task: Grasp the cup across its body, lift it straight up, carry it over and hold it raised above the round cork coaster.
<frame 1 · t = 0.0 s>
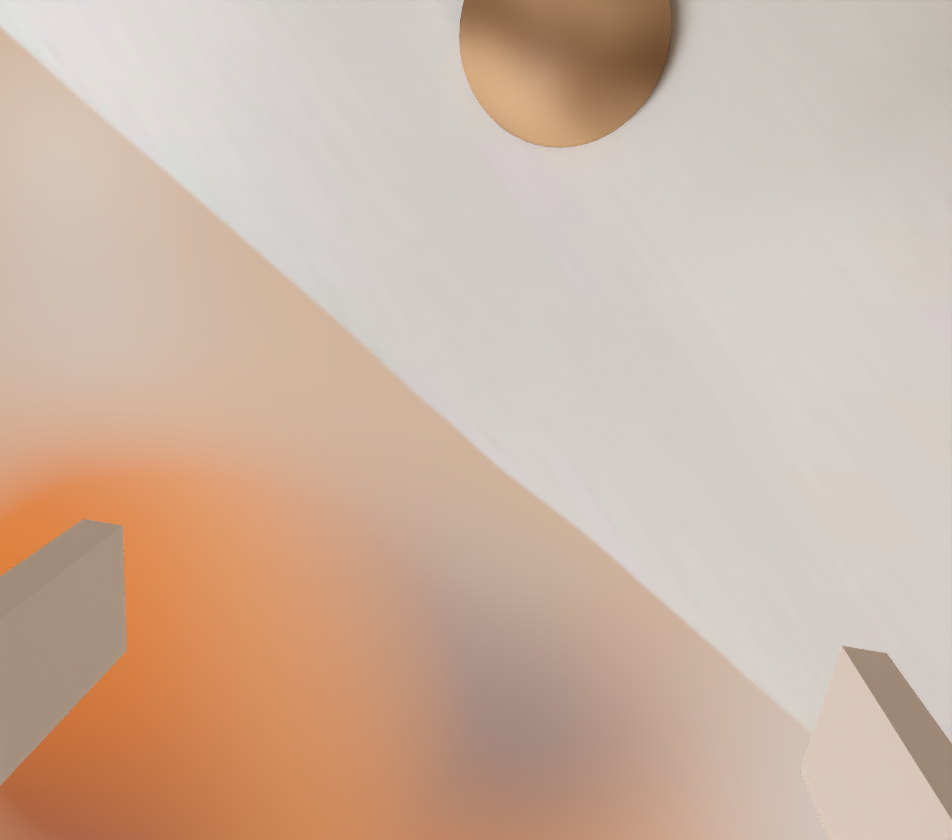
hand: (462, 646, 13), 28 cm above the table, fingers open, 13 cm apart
coaster: (563, 37, 35), on the table
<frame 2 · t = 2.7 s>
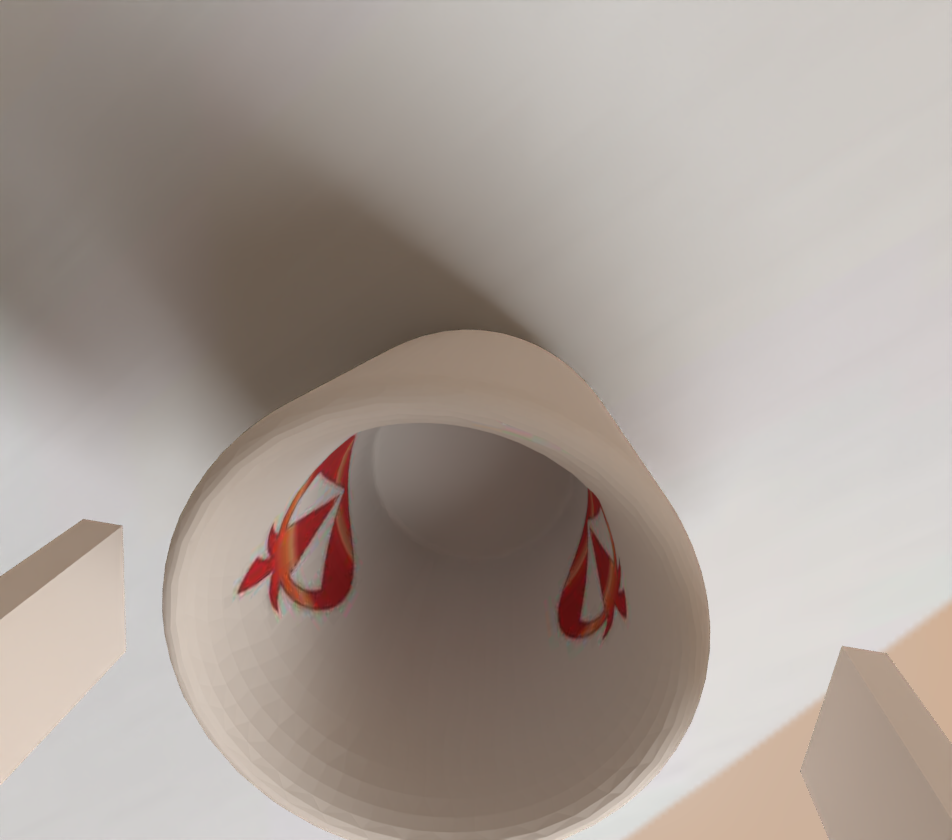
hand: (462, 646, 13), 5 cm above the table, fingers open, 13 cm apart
cup: (472, 501, 18), on the table
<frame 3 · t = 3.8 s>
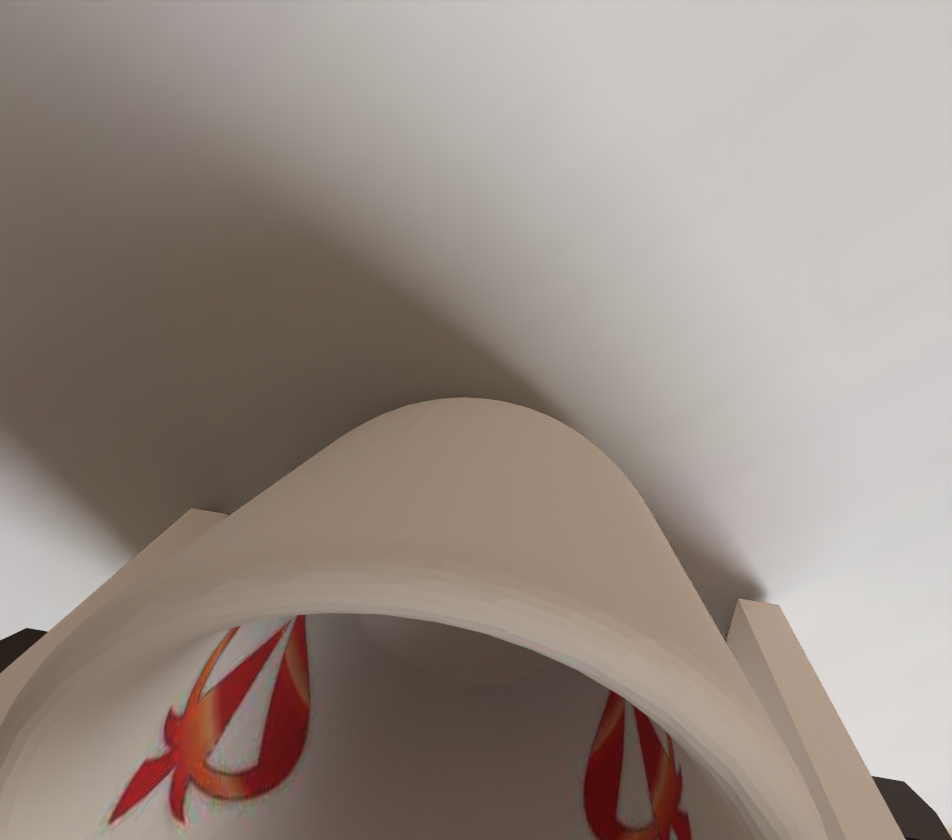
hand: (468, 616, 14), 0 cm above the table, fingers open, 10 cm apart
cup: (471, 603, 15), on the table
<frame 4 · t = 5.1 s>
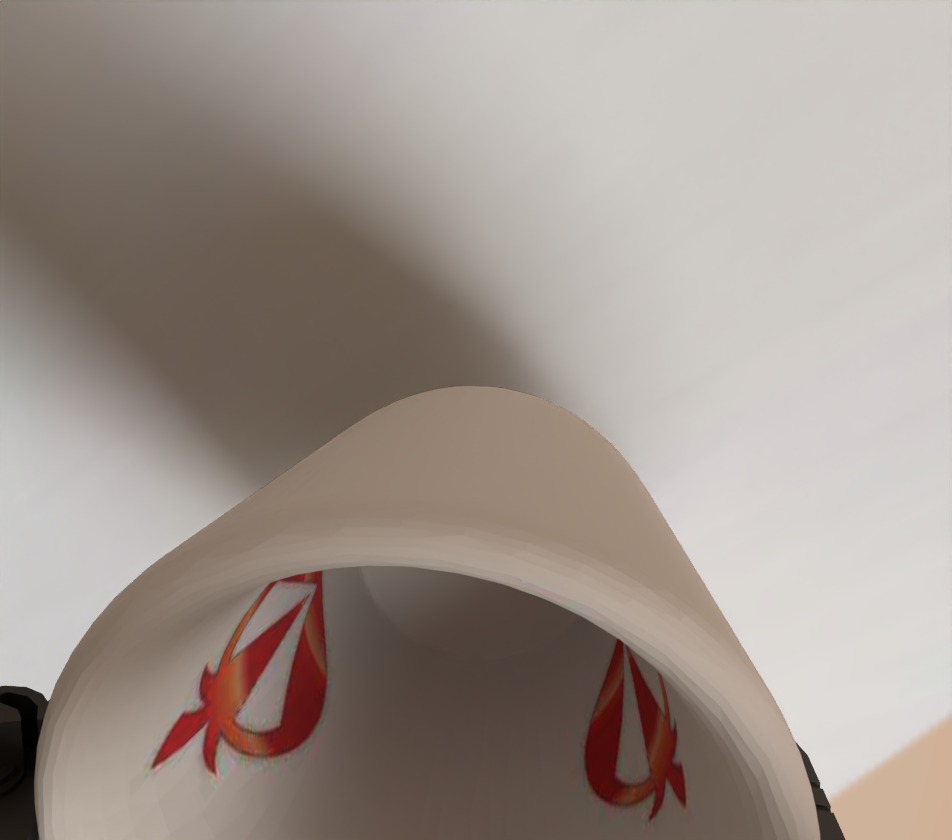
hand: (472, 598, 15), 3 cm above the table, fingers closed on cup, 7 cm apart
cup: (477, 584, 15), point 2 cm above the table, touching gripper
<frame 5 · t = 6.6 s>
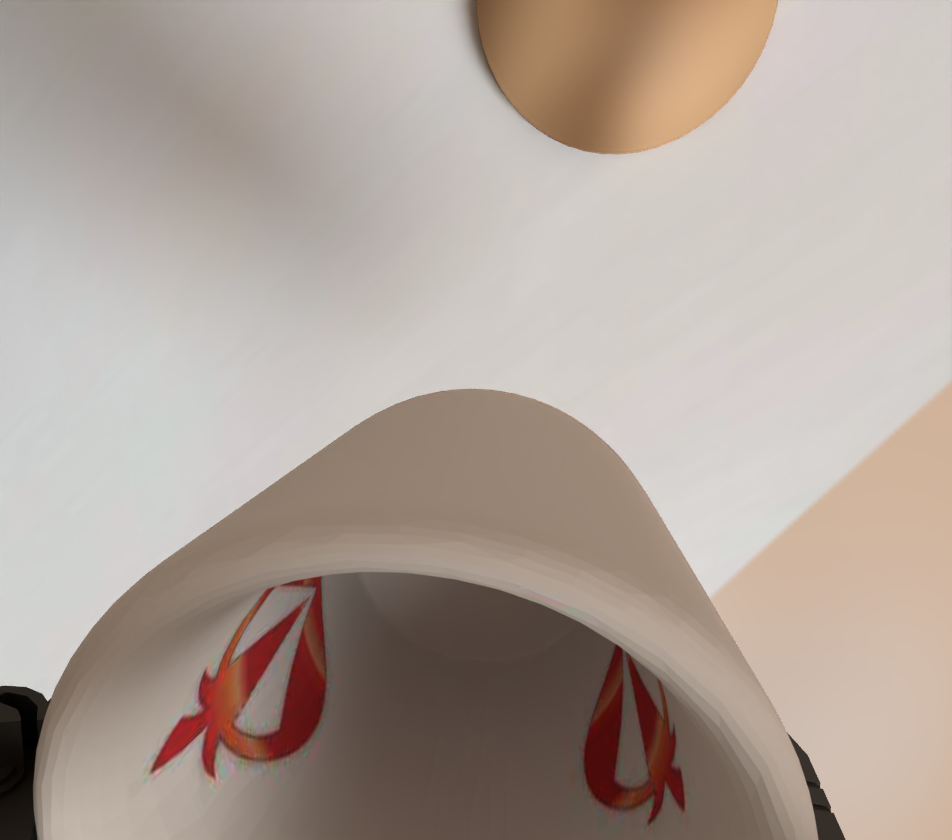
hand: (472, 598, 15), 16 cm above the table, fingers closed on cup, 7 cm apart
cup: (476, 587, 15), point 15 cm above the table, touching gripper
coaster: (622, 0, 25), on the table
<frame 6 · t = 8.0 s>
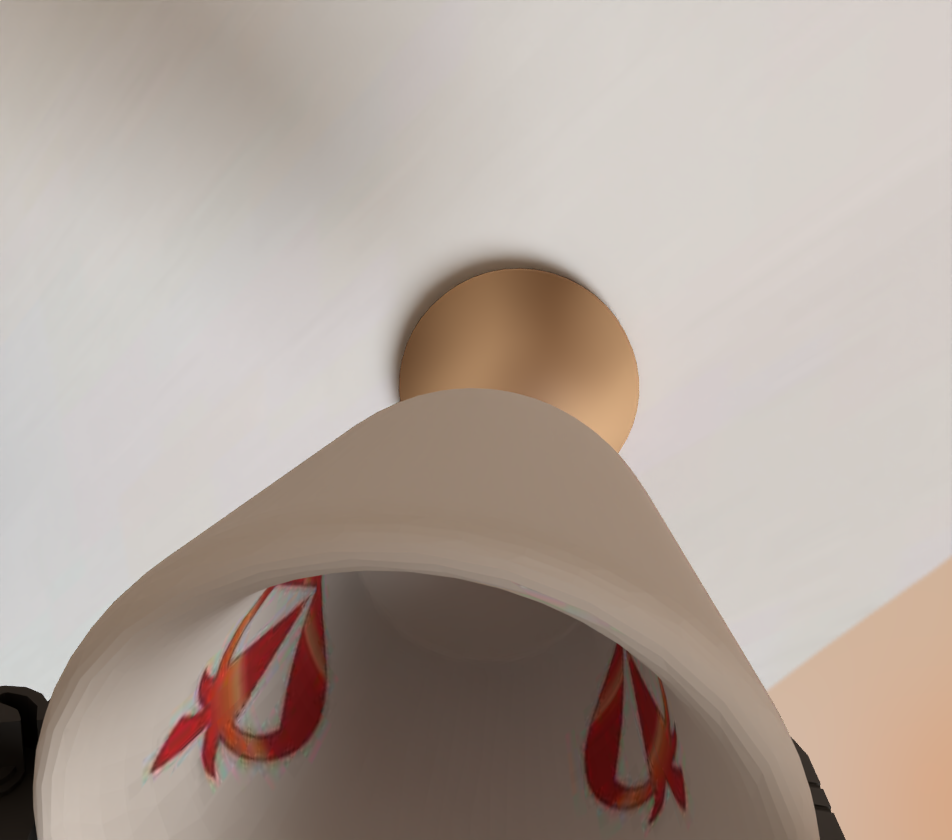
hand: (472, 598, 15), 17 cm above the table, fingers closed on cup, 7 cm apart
cup: (477, 586, 15), point 16 cm above the table, touching gripper
coaster: (518, 387, 31), on the table
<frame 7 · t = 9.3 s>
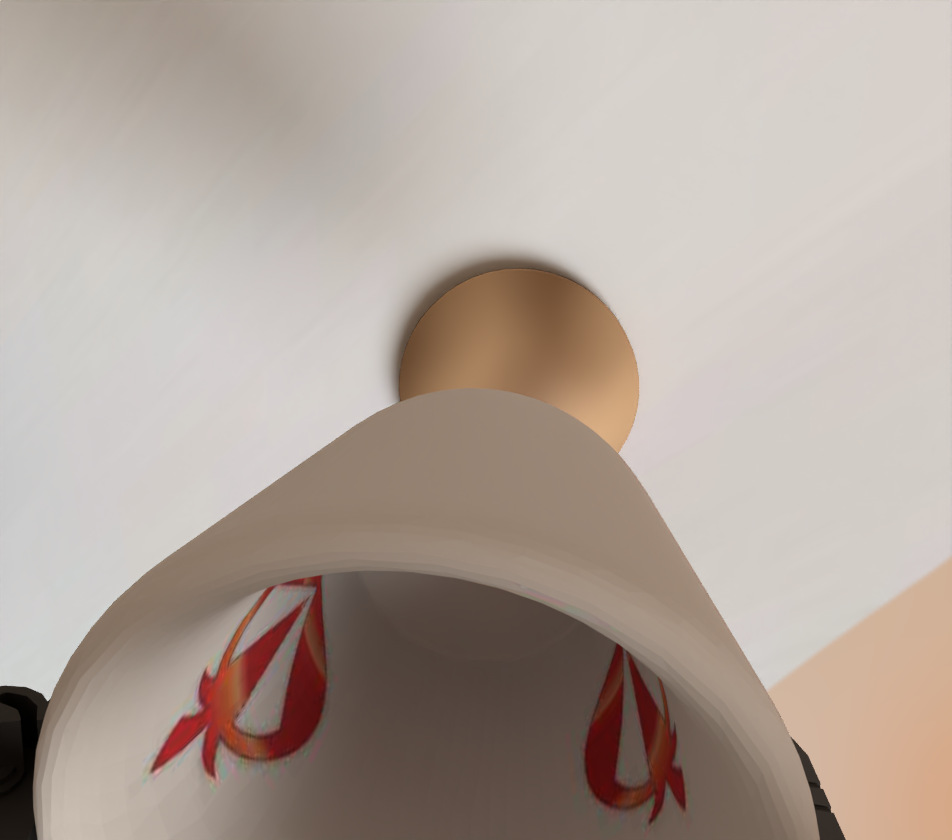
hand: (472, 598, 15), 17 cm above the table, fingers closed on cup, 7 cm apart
cup: (477, 586, 15), point 16 cm above the table, touching gripper
coaster: (518, 387, 31), on the table
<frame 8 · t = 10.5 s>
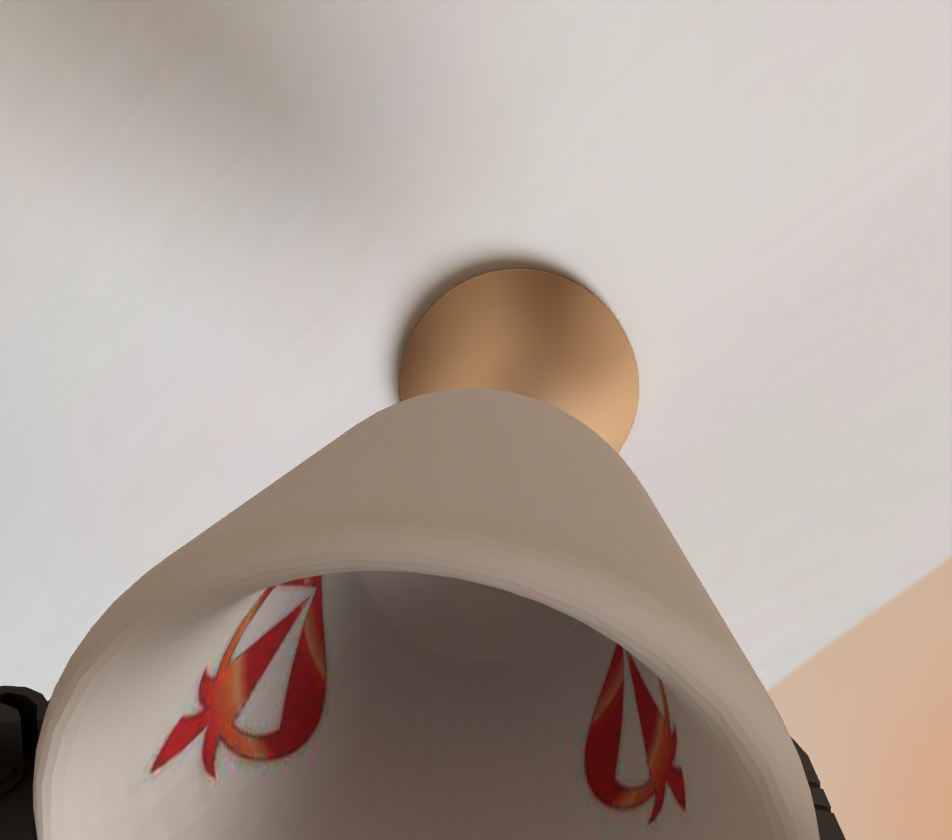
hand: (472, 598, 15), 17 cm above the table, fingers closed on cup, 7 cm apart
cup: (477, 586, 15), point 16 cm above the table, touching gripper
coaster: (518, 387, 31), on the table
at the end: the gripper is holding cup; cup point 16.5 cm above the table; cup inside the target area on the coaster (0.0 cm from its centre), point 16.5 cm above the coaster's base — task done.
